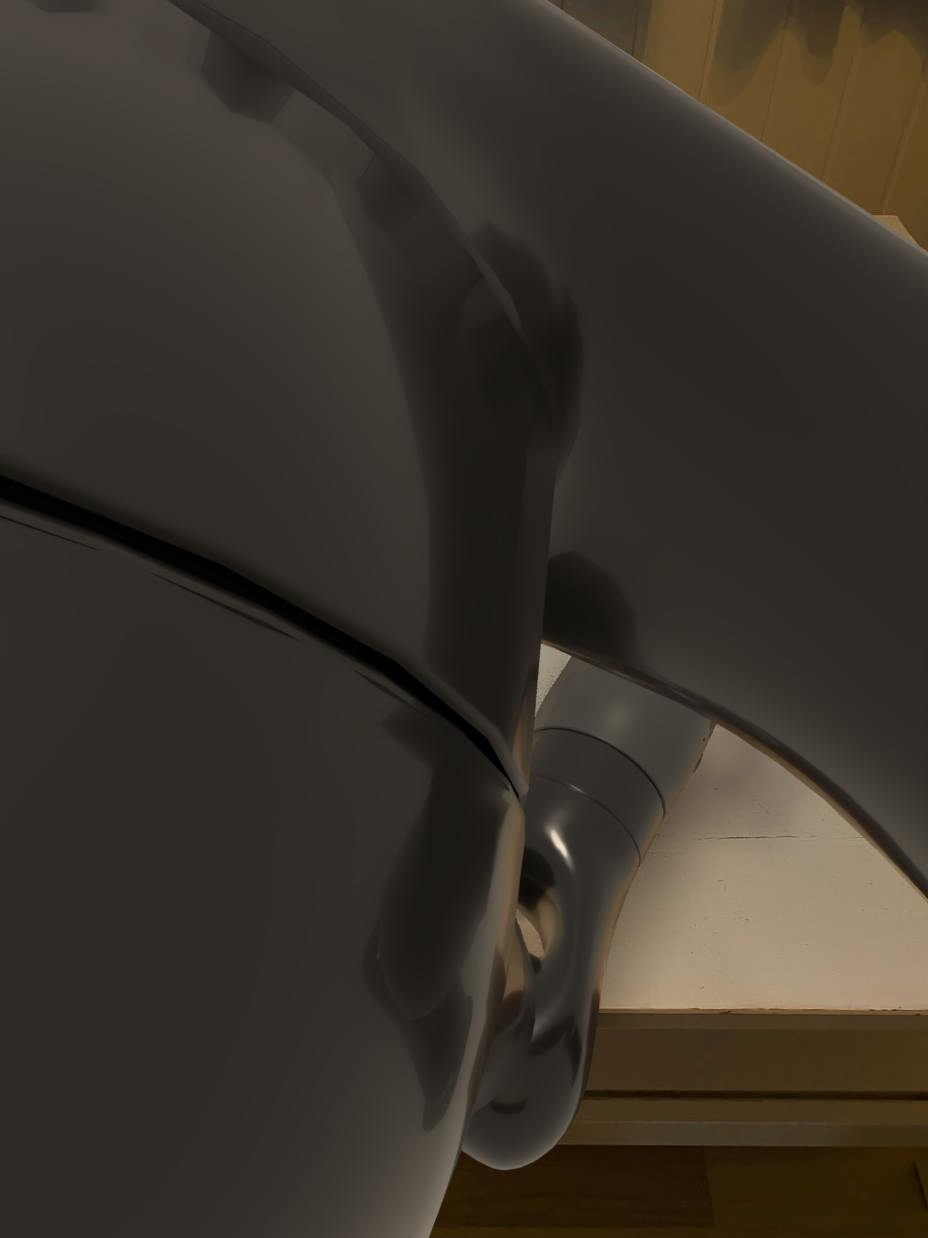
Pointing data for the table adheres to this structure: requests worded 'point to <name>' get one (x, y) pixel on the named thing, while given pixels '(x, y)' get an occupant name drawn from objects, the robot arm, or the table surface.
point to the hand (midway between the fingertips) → (744, 511)
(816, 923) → the table surface
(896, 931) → the table surface
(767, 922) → the table surface
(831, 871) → the table surface
